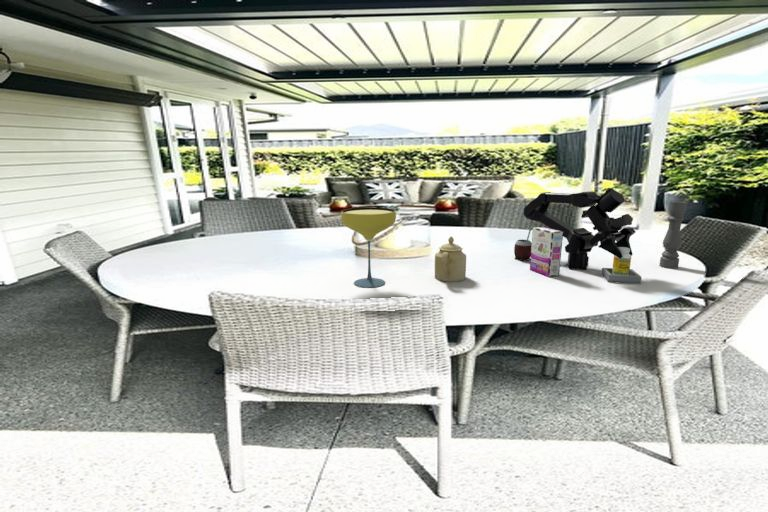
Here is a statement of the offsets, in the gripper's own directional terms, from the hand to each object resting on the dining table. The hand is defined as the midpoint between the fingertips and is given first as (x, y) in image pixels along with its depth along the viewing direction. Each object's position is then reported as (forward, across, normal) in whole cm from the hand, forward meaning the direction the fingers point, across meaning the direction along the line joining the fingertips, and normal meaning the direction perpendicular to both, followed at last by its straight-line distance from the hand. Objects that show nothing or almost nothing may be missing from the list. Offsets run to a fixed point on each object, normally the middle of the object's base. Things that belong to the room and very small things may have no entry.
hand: (626, 256), depth 152 cm
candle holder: (+5, +32, +7) cm, 33 cm away
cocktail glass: (-24, -78, +36) cm, 89 cm away
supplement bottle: (+4, 0, +6) cm, 7 cm away
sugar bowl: (-16, -51, +29) cm, 60 cm away
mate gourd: (-21, -7, +34) cm, 41 cm away
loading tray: (+5, 0, +7) cm, 8 cm away
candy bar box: (-8, -16, +21) cm, 27 cm away
